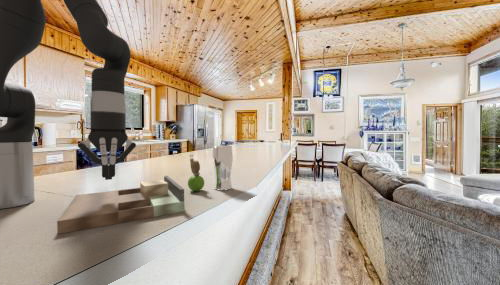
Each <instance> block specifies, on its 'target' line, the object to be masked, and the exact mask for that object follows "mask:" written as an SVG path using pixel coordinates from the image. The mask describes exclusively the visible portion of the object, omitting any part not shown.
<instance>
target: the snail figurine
mask: <svg viewBox="0 0 500 285" xmlns="http://www.w3.org/2000/svg"><path fill="white" fill-rule="evenodd" d="M189 157H190V160H189V162H190V170H191V174H193V175H191V176H190V177H189V179H188V181H187V186H188V188H189V189H190V191H193V192H198V191H199V192H200V191H201V190H202V189H203V188H204V186H205V179H204V178H203V176H201V175H200V169H201V164H200V161H199V160H197V159H196V160H194V158H193V157H194V154H190V155H189Z"/></svg>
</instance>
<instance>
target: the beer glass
mask: <svg viewBox="0 0 500 285" xmlns="http://www.w3.org/2000/svg"><path fill="white" fill-rule="evenodd" d="M233 158H234V157H233V146H232V145H212V165H213V172H214V178H215V180H214V181H215V183H214V188H215V189H219V190H218V191H226V190H225V189H229V190H231V189H232V188H233V186H232V181H231V175H232V169H233ZM230 188H231V189H230ZM215 189H214V190H215Z"/></svg>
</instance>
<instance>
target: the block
mask: <svg viewBox="0 0 500 285" xmlns="http://www.w3.org/2000/svg"><path fill="white" fill-rule="evenodd" d="M139 186H140V187H139V188H140V189H141V194H142V195H143V196H144V197H145V198H146V197H152V196H158V195H165V194H168V183H167V182H165V181H164V179H160V180H159V179H158V180H149V181H142V182H140V185H139Z"/></svg>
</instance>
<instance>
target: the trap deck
mask: <svg viewBox="0 0 500 285" xmlns="http://www.w3.org/2000/svg"><path fill="white" fill-rule="evenodd" d="M163 181H165V182H167V183H168V194H165V195H158V196H152V197H146V198H145V197H144V196H143V195H142V194H141V189H140V187H136V188H127V189H126V188H125V189H118V190H109V191H101V192H93V193H83V194H76V195H75V196H74V198H73V199H72V200H71V201H70V203H69V204H68V206H67V207H66V208H65V209H64V211H63V213H62V214H61V215H60V217H59V218H58V220H57V221H56V224H57V225H56V226H57V230H56V231H57V235H62V234H66V233H71V232H77V231H78V232H79V231H82V230H88V229H94V228H99V227H104V226H110V225H115V224H121V223H122V224H123V223H126V222H132V221H133V222H134V221H139V220H143V219H148V218H154V217H160V216H165V215H170V214H171V215H172V214H176V213H183V212H185V188H183V187H182V186H181V185H180V184H178V182H176V181H174V180H173V178H171V177H169V176H168V175H164V176H163Z"/></svg>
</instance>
